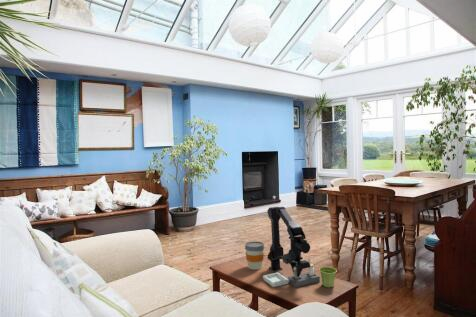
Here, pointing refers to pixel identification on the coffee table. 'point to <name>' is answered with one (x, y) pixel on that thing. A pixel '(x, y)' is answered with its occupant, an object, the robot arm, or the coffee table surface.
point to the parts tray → (275, 279)
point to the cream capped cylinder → (295, 274)
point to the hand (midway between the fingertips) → (296, 275)
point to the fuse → (311, 270)
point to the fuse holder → (304, 280)
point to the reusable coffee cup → (254, 254)
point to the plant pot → (328, 276)
